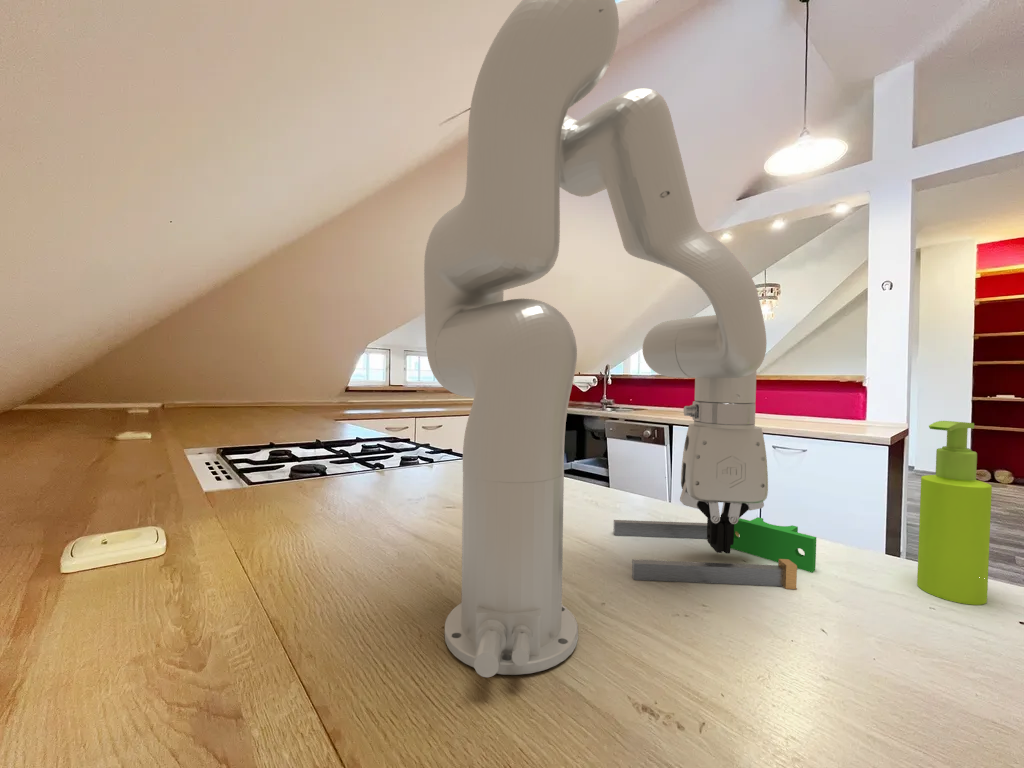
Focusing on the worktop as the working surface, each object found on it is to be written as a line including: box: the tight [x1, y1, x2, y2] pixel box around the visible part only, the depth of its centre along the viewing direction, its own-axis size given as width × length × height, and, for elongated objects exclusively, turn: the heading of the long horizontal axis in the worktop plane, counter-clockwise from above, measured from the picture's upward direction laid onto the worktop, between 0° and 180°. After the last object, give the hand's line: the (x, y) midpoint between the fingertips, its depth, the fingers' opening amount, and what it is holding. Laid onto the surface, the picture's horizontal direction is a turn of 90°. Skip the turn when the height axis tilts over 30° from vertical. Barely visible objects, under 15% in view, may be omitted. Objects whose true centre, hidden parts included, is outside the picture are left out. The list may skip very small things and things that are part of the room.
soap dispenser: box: [916, 420, 993, 606], centre depth 53 cm, size 6×7×20 cm
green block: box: [731, 516, 817, 573], centre depth 64 cm, size 11×4×5 cm, turn 40°
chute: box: [613, 519, 798, 590], centre depth 63 cm, size 18×19×3 cm
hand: (719, 549), depth 63 cm, fingers closed
